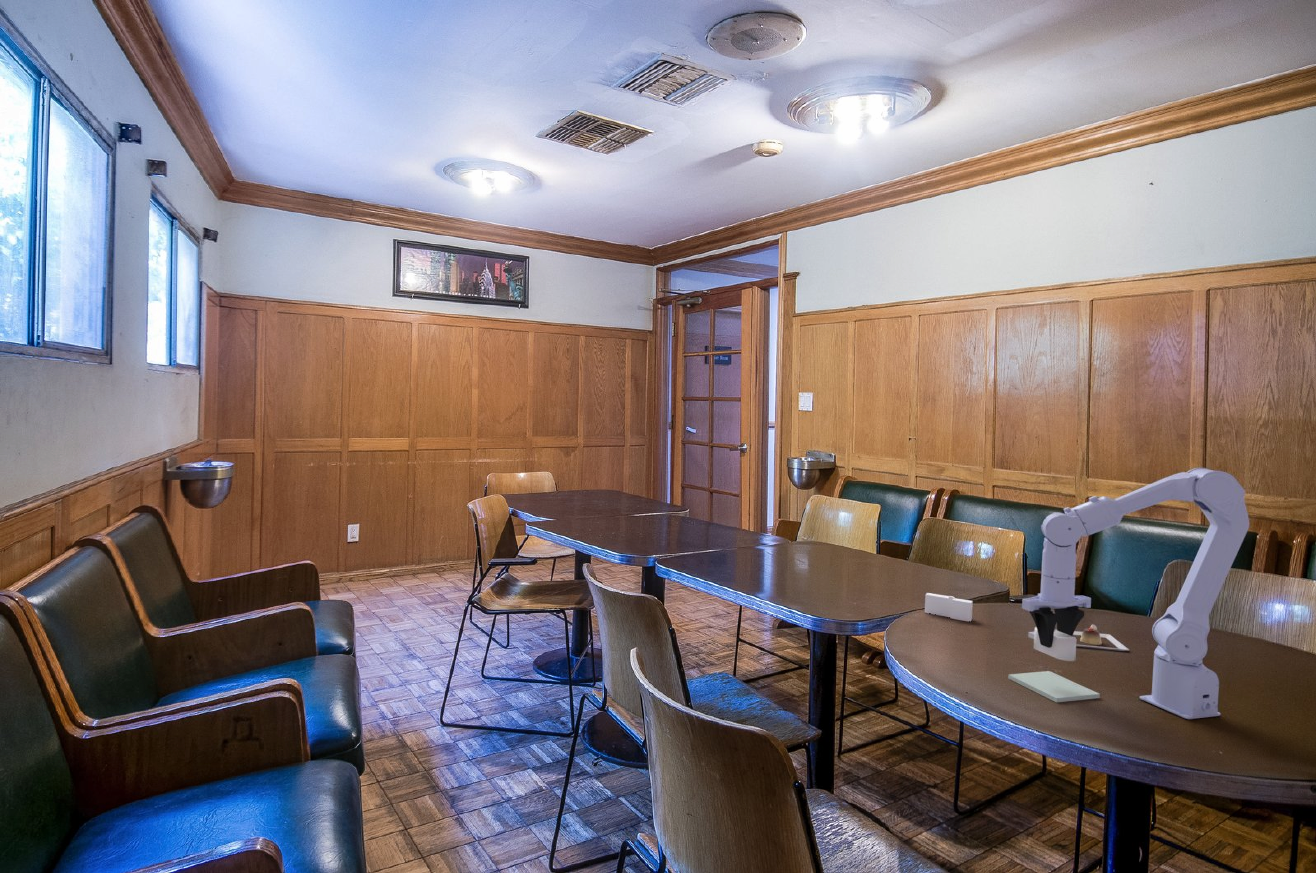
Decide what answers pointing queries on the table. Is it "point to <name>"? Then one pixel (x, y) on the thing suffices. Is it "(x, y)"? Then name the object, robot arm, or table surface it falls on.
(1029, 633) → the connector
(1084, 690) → the sage pad
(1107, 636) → the dessert
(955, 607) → the white upright tiles
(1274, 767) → the table surface
